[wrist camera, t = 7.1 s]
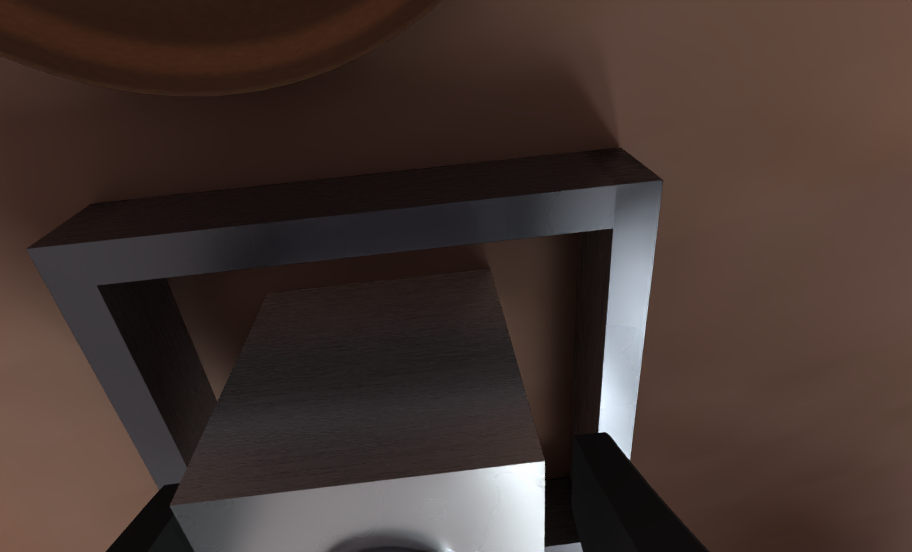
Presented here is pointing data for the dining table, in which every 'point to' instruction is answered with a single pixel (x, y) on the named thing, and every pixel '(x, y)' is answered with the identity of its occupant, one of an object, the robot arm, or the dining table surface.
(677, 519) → the robot arm
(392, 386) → the grey square block
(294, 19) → the cup and saucer
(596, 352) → the grey flat rectangular frame
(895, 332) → the dining table surface
